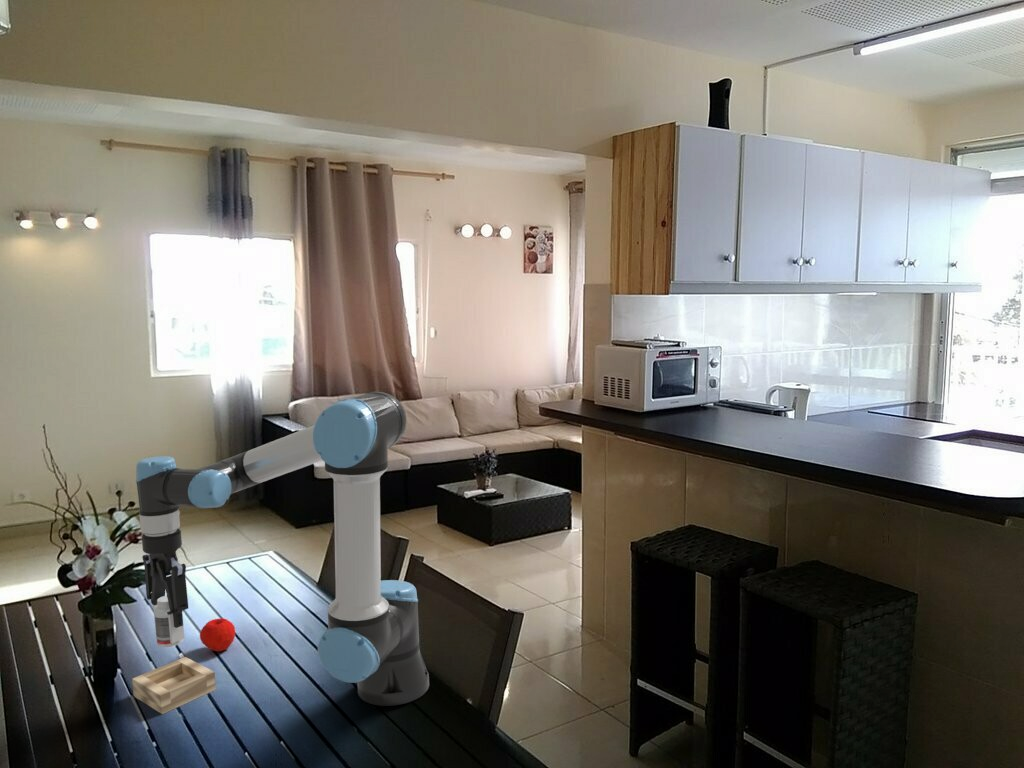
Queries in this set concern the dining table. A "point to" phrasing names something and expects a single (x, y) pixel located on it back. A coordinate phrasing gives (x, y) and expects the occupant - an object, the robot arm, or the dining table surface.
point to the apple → (218, 634)
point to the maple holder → (173, 684)
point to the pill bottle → (163, 623)
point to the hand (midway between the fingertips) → (170, 636)
